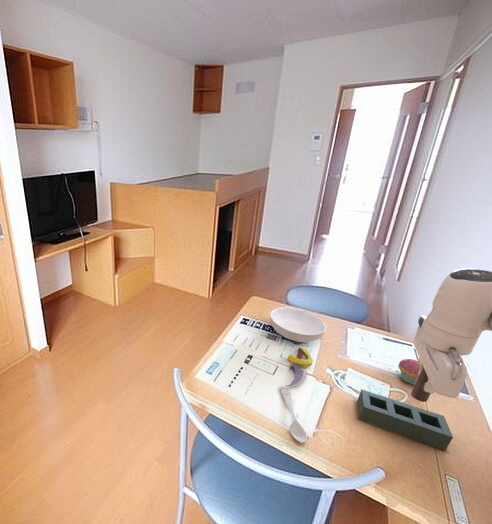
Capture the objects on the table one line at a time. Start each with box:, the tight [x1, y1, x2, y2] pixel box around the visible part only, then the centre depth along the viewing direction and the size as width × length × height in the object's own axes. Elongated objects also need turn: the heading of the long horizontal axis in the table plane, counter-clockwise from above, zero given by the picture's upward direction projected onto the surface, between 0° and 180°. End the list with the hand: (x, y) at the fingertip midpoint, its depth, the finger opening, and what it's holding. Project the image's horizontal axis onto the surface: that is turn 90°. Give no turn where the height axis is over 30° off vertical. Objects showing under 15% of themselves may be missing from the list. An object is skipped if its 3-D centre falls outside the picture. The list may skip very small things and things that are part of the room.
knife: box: [285, 345, 314, 388], centre depth 107 cm, size 8×3×25 cm
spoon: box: [280, 387, 308, 444], centre depth 90 cm, size 4×21×2 cm, turn 169°
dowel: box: [410, 367, 432, 403], centre depth 74 cm, size 3×3×10 cm
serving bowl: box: [269, 306, 327, 343], centre depth 126 cm, size 21×21×7 cm
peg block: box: [356, 389, 454, 451], centre depth 87 cm, size 19×8×5 cm, turn 60°
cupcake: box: [397, 357, 421, 386], centre depth 101 cm, size 9×8×12 cm
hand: (424, 384), depth 74 cm, fingers closed on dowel, 3 cm apart
